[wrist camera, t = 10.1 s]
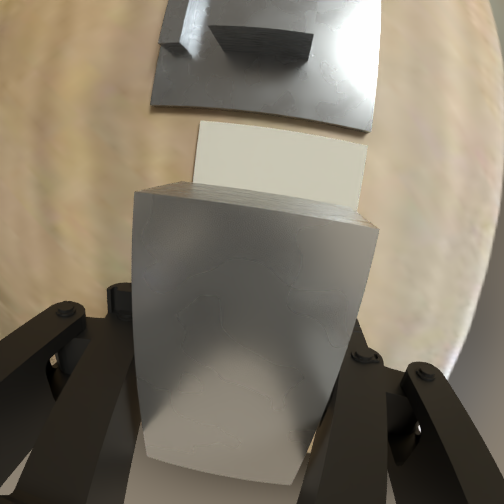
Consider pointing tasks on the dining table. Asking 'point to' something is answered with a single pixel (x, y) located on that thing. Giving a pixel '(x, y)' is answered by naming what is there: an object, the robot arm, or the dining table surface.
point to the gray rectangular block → (241, 322)
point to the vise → (272, 58)
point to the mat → (280, 162)
